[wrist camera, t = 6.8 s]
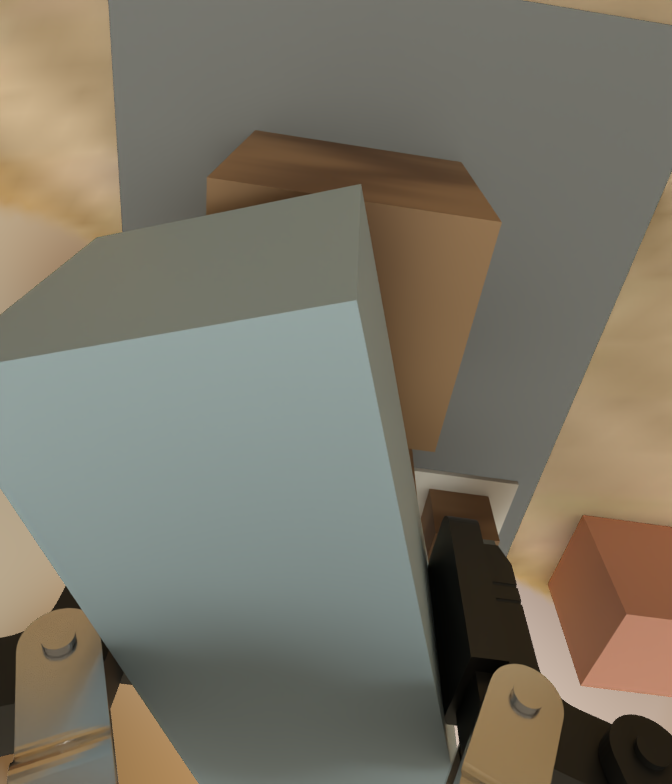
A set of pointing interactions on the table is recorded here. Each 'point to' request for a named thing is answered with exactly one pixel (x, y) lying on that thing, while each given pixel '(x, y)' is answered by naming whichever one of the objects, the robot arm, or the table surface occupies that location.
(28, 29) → the table surface
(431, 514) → the model
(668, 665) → the terracotta cube
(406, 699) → the lintel
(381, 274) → the base cube
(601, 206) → the grey flat sheet
